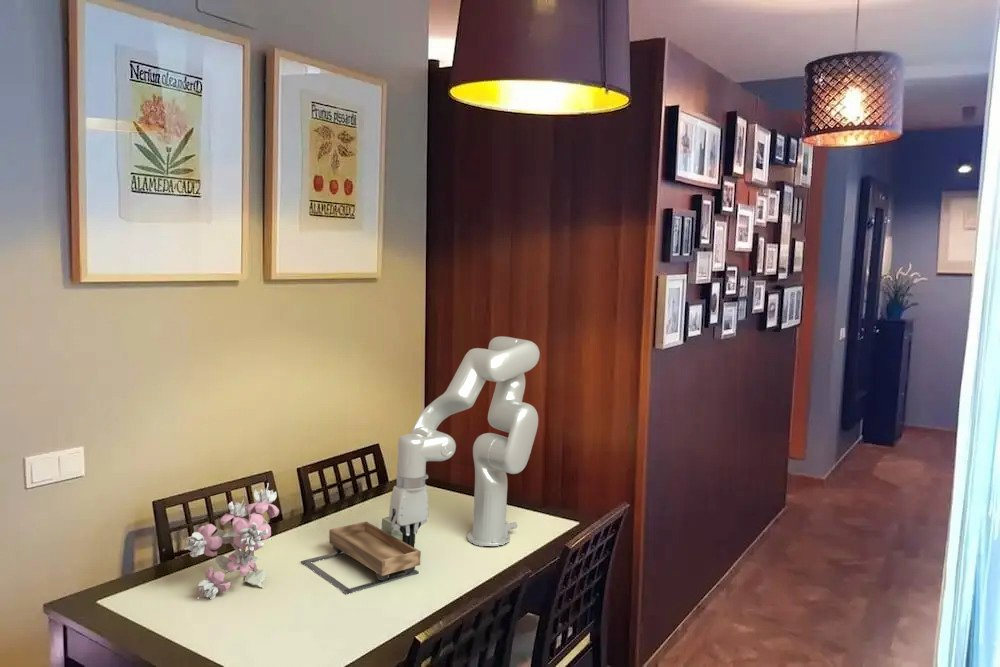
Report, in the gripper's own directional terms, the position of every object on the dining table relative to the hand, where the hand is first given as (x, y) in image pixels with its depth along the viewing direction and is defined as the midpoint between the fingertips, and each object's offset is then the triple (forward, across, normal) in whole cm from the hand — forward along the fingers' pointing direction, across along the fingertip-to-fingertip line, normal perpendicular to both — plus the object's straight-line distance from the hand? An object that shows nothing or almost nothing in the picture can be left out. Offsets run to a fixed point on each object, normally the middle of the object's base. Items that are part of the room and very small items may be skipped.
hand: (408, 547), depth 207 cm
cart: (+4, +8, -5) cm, 10 cm away
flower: (+5, +44, -11) cm, 45 cm away
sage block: (+4, -5, -15) cm, 17 cm away
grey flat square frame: (+5, +12, -5) cm, 14 cm away
